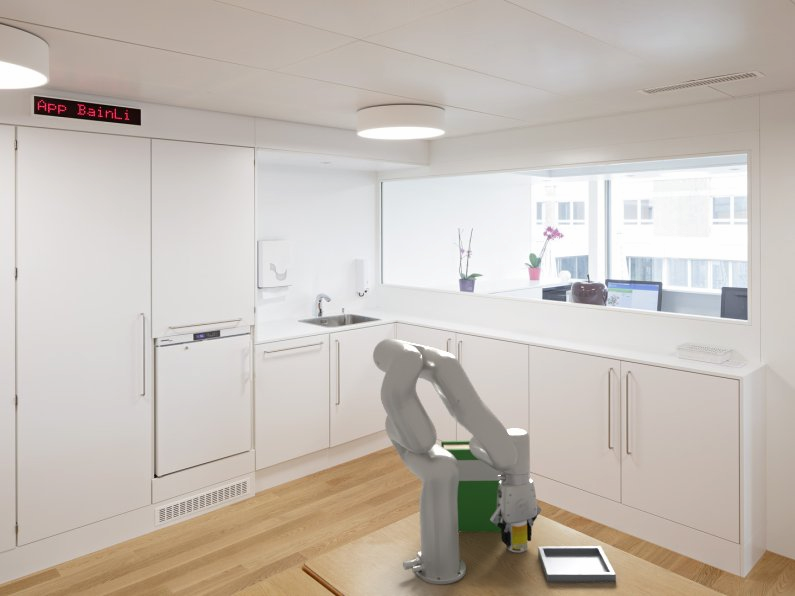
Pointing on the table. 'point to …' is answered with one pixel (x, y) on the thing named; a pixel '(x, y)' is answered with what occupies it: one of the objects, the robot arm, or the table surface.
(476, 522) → the hardback book
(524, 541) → the supplement bottle
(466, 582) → the table surface
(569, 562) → the tray
